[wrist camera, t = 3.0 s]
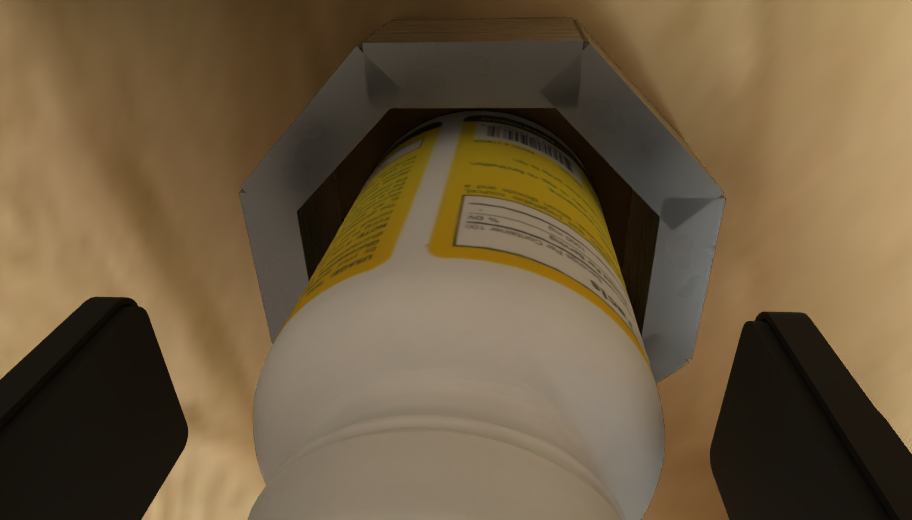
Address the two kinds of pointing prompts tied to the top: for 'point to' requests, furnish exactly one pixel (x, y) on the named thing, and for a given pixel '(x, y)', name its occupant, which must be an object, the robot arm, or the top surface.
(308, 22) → the top surface
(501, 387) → the pill bottle
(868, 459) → the robot arm
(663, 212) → the socket collar
